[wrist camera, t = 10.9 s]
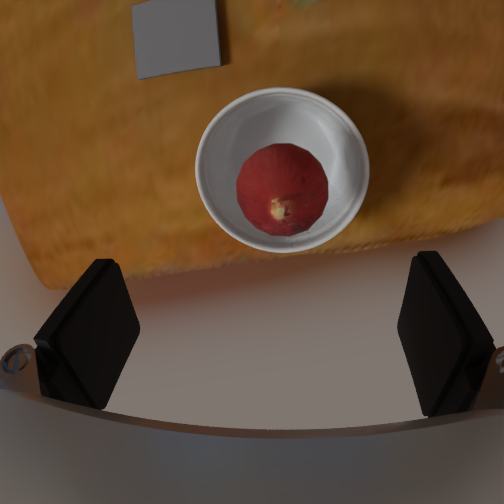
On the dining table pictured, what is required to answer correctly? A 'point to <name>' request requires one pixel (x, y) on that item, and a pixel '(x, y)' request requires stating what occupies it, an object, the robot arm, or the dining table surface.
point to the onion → (282, 189)
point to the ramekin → (282, 131)
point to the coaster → (175, 36)
